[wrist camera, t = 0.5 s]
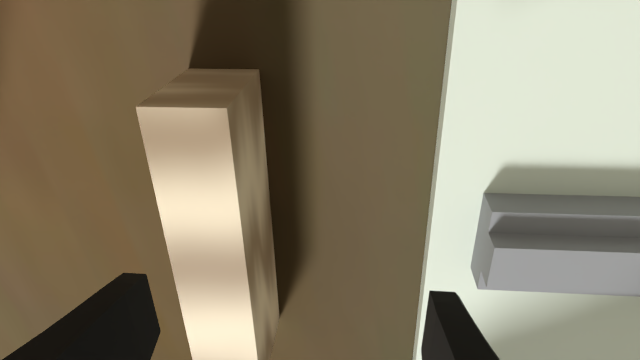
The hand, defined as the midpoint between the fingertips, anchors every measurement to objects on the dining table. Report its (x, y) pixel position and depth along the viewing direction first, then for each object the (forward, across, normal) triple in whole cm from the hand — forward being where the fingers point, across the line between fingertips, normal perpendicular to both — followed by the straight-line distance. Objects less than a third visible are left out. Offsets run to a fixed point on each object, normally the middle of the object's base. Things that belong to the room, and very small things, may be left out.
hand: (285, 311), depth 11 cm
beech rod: (+10, +4, +3) cm, 11 cm away
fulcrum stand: (+10, -13, +3) cm, 16 cm away
